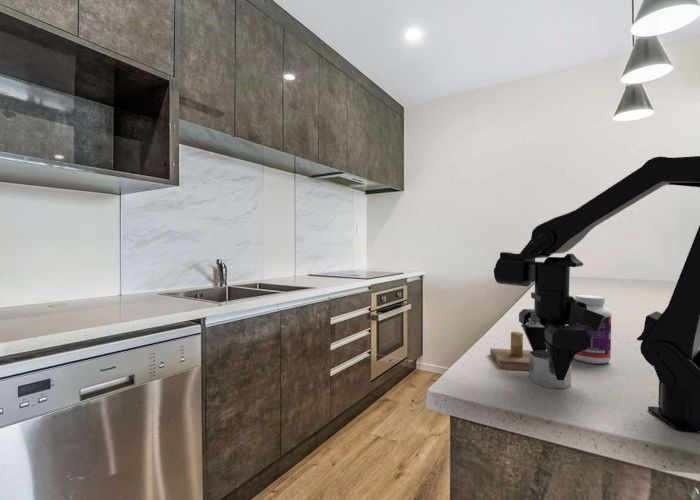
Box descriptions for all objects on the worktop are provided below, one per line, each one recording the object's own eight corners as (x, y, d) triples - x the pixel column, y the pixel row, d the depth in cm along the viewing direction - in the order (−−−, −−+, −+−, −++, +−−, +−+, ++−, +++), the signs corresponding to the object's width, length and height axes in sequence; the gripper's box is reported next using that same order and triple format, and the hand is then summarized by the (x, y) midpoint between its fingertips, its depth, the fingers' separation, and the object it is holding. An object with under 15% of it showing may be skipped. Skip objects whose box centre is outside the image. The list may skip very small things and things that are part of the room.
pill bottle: (618, 366, 75) (619, 300, 75) (576, 364, 77) (578, 298, 77) (599, 354, 83) (601, 294, 83) (562, 352, 85) (563, 293, 84)
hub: (575, 389, 64) (576, 362, 64) (537, 386, 65) (537, 359, 65) (560, 375, 70) (560, 350, 70) (525, 373, 71) (525, 349, 71)
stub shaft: (546, 371, 73) (546, 339, 72) (500, 368, 74) (500, 337, 74) (530, 356, 81) (531, 329, 81) (490, 354, 83) (490, 327, 83)
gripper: (629, 298, 56) (626, 394, 57) (574, 284, 75) (572, 357, 75) (554, 296, 58) (552, 389, 59) (518, 283, 77) (517, 354, 77)
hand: (549, 370), depth 67 cm, fingers open, 9 cm apart
